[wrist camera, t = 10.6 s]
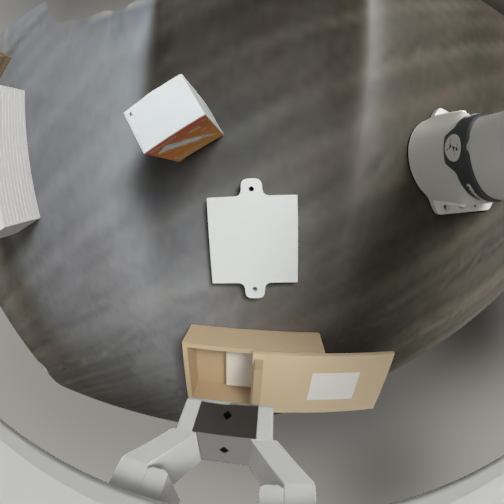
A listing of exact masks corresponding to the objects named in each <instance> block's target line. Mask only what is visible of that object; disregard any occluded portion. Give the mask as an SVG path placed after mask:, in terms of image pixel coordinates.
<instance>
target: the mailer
mask: <svg viewBox="0 0 504 504" xmlns="http://www.w3.org/2000/svg"><path fill="white" fill-rule="evenodd" d="M182 348H183V359H184V368H185V377H186V385H187V393H188V398H189V397H195V398H201V399H208V400H214V401H221V402H228V403H242V404H250V392H251V377H252V361H253V351H262V352H281V353H325V350H324V347H323V343H322V340H321V337H320V334H319V333H313V332H284V331H265V330H249V329H236V328H225V327H214V326H204V325H195V324H191V326H190V328H189V330H188V332H187V334H186V336H185V337H184V339H183V341H182Z"/></svg>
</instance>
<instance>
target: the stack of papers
mask: <svg viewBox="0 0 504 504" xmlns="http://www.w3.org/2000/svg"><path fill="white" fill-rule="evenodd" d="M38 219H40V214H39V210H38V206H37V202H36V197H35V192H34V187H33V182H32V176H31V170H30V163H29V156H28V147H27V137H26V123H25V91H24V90H23V91H22V90H20V89H16V88H15V89H14V88H11V87H9V88H8V87H7V86H3V85H0V238H3V237H6V236H9V235H13V234H16V233H18V232H19V231H21V230H22V229H24V228H26V227H27V226H29V225H30V224H32V223H33V222H35V221H36V220H38Z"/></svg>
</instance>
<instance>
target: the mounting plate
mask: <svg viewBox="0 0 504 504" xmlns="http://www.w3.org/2000/svg"><path fill="white" fill-rule="evenodd" d="M251 186H252V187H253V188H254V190H253V191H250V187H251ZM207 214H208V230H209V244H210V257H211V270H212V282H213V283H240V284H242V285H243V286H244V287H245V293H246V296H247V297H249V298H262V297H263V296H264V294H265V286H266V285H267V284H268V283H283V282H298V199H297V195H266V194H265V193H264V192H263V190H262V183H261V181H260V180H259V179H256V178H250V179H244V180H243V181H242V182H241V191H240V194H239V195H238V196H231V197H212V198H207ZM254 287H256V288H254Z"/></svg>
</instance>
